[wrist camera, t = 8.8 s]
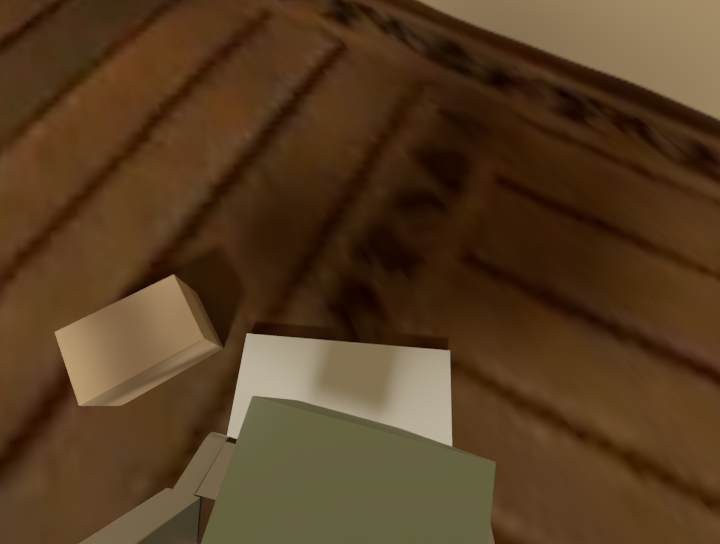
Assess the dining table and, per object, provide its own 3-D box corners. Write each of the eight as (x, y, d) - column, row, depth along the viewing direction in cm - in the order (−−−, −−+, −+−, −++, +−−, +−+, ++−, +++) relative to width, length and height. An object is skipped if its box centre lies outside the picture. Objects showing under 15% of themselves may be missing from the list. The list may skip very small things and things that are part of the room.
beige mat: (445, 352, 21) (449, 350, 20) (450, 600, 17) (456, 610, 16) (250, 335, 21) (246, 333, 20) (202, 586, 16) (196, 595, 16)
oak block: (197, 293, 22) (173, 274, 18) (224, 348, 21) (203, 338, 17) (99, 343, 20) (54, 332, 17) (122, 405, 19) (79, 406, 16)
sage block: (400, 428, 14) (495, 461, 6) (375, 555, 13) (460, 843, 4) (297, 400, 15) (252, 395, 6) (260, 523, 13) (129, 748, 4)
